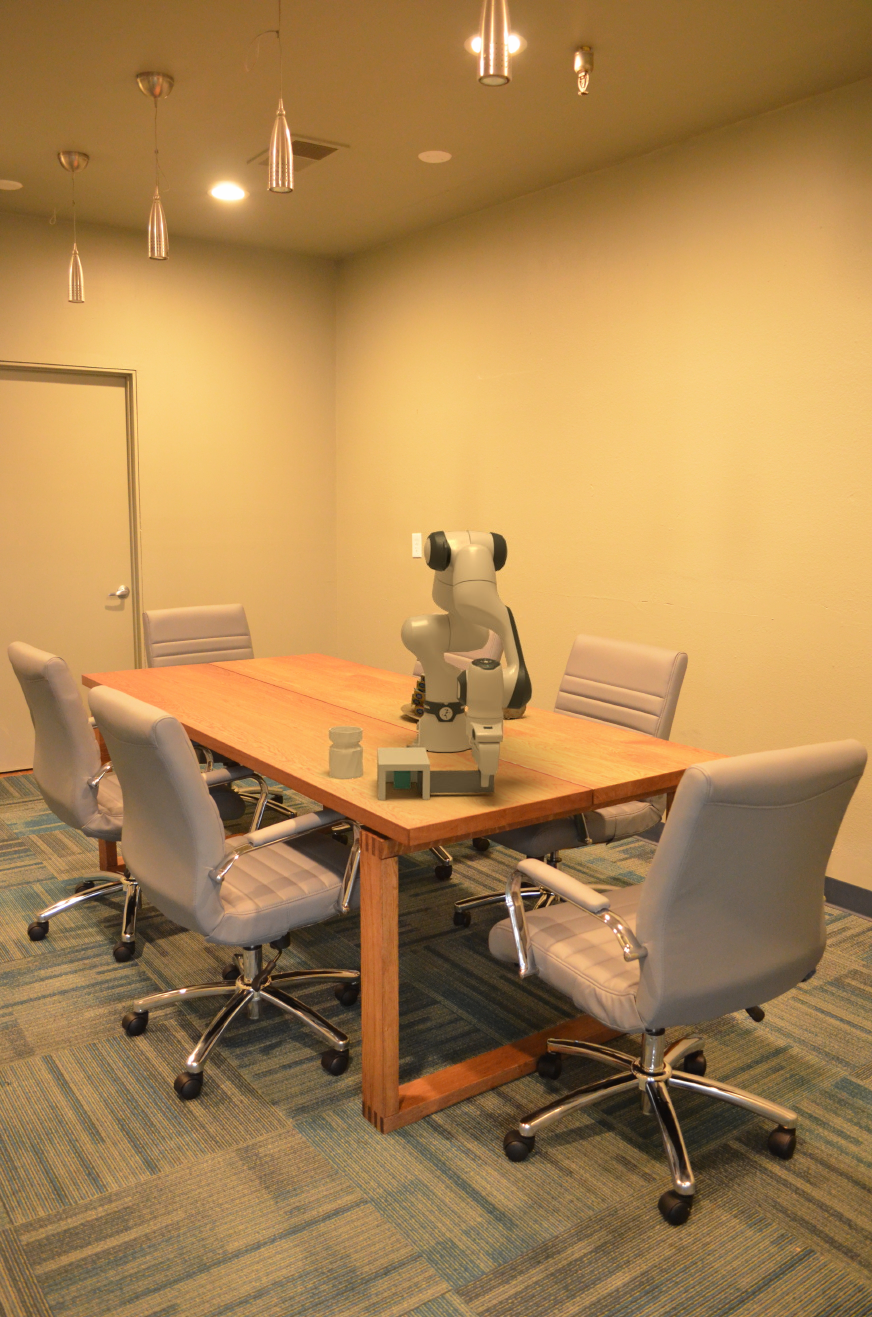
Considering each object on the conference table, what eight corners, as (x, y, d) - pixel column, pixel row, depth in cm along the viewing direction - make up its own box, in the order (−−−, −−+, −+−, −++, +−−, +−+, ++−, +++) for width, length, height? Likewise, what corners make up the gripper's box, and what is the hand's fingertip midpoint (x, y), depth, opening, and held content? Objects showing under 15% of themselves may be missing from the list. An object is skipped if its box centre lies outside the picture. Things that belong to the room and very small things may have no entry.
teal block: (393, 784, 246) (393, 769, 245) (409, 784, 246) (409, 769, 245) (394, 789, 242) (394, 773, 241) (410, 789, 242) (410, 773, 241)
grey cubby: (377, 780, 249) (377, 747, 248) (424, 780, 250) (425, 747, 249) (378, 800, 231) (378, 764, 230) (429, 799, 232) (430, 764, 231)
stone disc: (501, 720, 331) (502, 691, 330) (496, 718, 334) (496, 689, 333) (528, 718, 335) (528, 689, 334) (522, 716, 339) (523, 688, 338)
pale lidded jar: (366, 777, 252) (367, 731, 250) (333, 780, 249) (333, 733, 247) (357, 770, 260) (358, 725, 259) (325, 772, 257) (325, 726, 256)
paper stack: (488, 718, 336) (489, 669, 334) (444, 728, 316) (445, 677, 314) (431, 709, 351) (431, 663, 349) (385, 719, 331) (386, 669, 329)
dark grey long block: (417, 786, 241) (417, 766, 240) (490, 785, 242) (490, 765, 242) (418, 793, 234) (419, 772, 234) (494, 792, 236) (494, 772, 235)
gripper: (466, 719, 245) (465, 773, 246) (476, 736, 224) (475, 795, 226) (491, 719, 245) (490, 773, 247) (504, 736, 225) (502, 795, 227)
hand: (483, 784), depth 236 cm, fingers closed on dark grey long block
